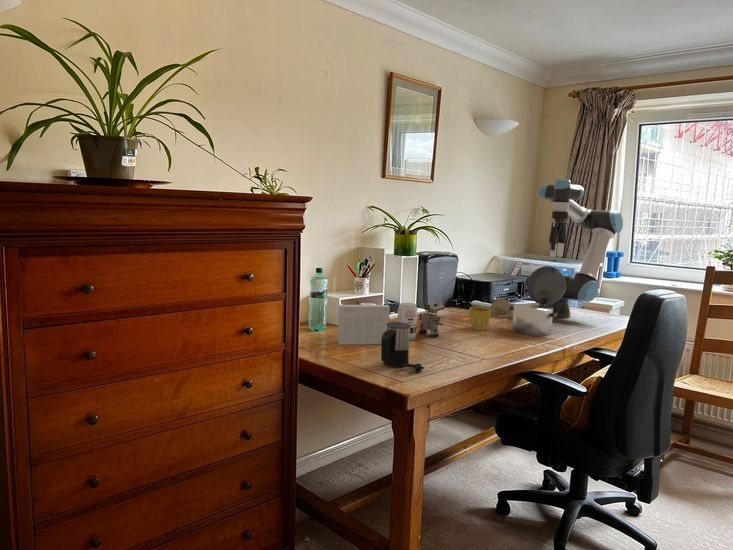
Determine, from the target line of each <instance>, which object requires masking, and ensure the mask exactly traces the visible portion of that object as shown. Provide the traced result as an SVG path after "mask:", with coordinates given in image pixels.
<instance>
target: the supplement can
mask: <svg viewBox="0 0 733 550" xmlns="http://www.w3.org/2000/svg"><path fill="white" fill-rule="evenodd" d="M397 309H398V312H397V322H400V323H407V324H410V325H411V327H410V338H409V341H412V340H414V339H416V336H417V321H418V307H417V304H416V303H412V302H411V303H410V302H401V303H399V306H398V308H397Z"/></svg>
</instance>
